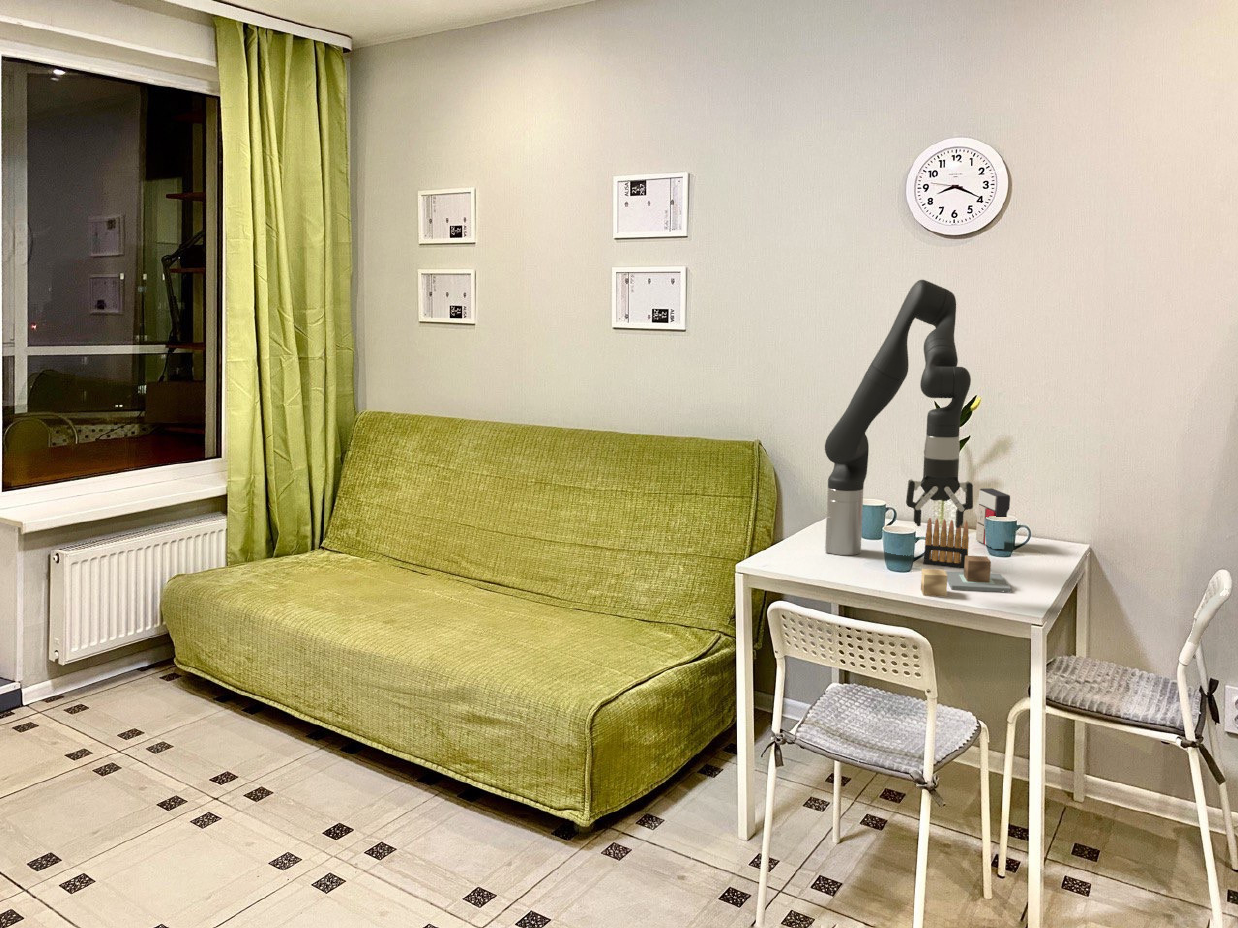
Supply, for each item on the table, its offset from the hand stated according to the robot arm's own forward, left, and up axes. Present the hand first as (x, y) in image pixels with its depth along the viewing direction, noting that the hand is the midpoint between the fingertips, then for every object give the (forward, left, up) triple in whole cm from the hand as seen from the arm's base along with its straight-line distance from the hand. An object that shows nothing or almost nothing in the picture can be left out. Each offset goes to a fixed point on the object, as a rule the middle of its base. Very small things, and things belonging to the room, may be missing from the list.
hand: (938, 526), depth 230 cm
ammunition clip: (+6, +26, -16) cm, 31 cm away
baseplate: (+11, +10, -16) cm, 21 cm away
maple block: (0, 0, -16) cm, 16 cm away
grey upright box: (+21, +51, -16) cm, 57 cm away
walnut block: (+11, +10, -14) cm, 21 cm away
